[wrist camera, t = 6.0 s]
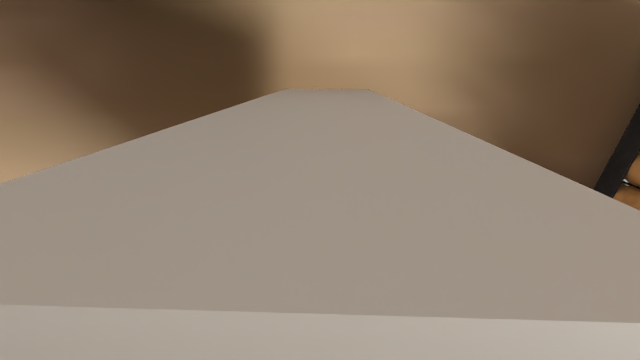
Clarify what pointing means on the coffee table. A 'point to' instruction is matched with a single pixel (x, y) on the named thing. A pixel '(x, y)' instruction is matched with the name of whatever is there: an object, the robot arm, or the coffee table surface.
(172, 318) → the door panel
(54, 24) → the coffee table surface
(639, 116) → the ammunition clip
